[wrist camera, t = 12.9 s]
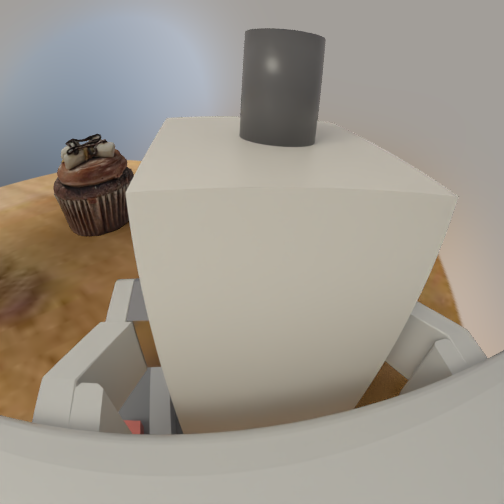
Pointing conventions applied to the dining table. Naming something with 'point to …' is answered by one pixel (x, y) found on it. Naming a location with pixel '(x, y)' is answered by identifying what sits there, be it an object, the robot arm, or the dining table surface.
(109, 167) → the cupcake
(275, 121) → the plug
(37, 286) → the dining table surface
